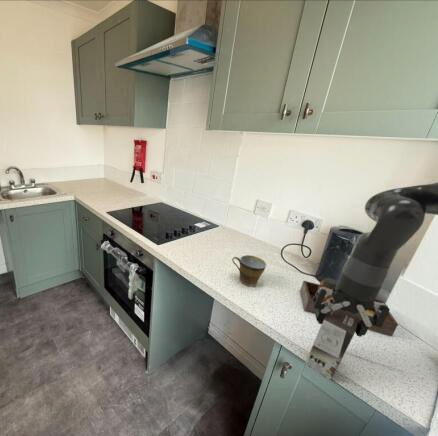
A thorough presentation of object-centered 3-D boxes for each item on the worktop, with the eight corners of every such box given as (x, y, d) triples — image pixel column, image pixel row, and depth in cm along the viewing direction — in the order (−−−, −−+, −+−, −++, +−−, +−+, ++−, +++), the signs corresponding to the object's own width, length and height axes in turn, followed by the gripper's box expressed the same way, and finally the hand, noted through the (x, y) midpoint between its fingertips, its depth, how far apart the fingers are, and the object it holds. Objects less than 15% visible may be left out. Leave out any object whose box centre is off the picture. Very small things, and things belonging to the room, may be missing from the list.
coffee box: (331, 381, 64) (354, 335, 58) (304, 363, 68) (322, 319, 62) (340, 361, 69) (361, 317, 63) (314, 346, 74) (332, 303, 68)
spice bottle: (328, 303, 91) (338, 279, 87) (332, 313, 87) (343, 287, 82) (311, 298, 93) (320, 274, 89) (314, 308, 89) (323, 282, 84)
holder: (299, 292, 98) (303, 280, 96) (375, 313, 89) (381, 300, 87) (303, 312, 87) (308, 299, 85) (390, 338, 78) (398, 324, 76)
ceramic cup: (262, 280, 104) (268, 260, 100) (258, 292, 96) (263, 271, 93) (232, 269, 111) (236, 250, 107) (225, 280, 103) (229, 259, 99)
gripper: (330, 275, 57) (309, 327, 63) (409, 294, 52) (377, 350, 58) (323, 260, 64) (304, 309, 70) (393, 276, 58) (366, 328, 64)
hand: (338, 327), depth 64 cm, fingers closed on coffee box, 8 cm apart
